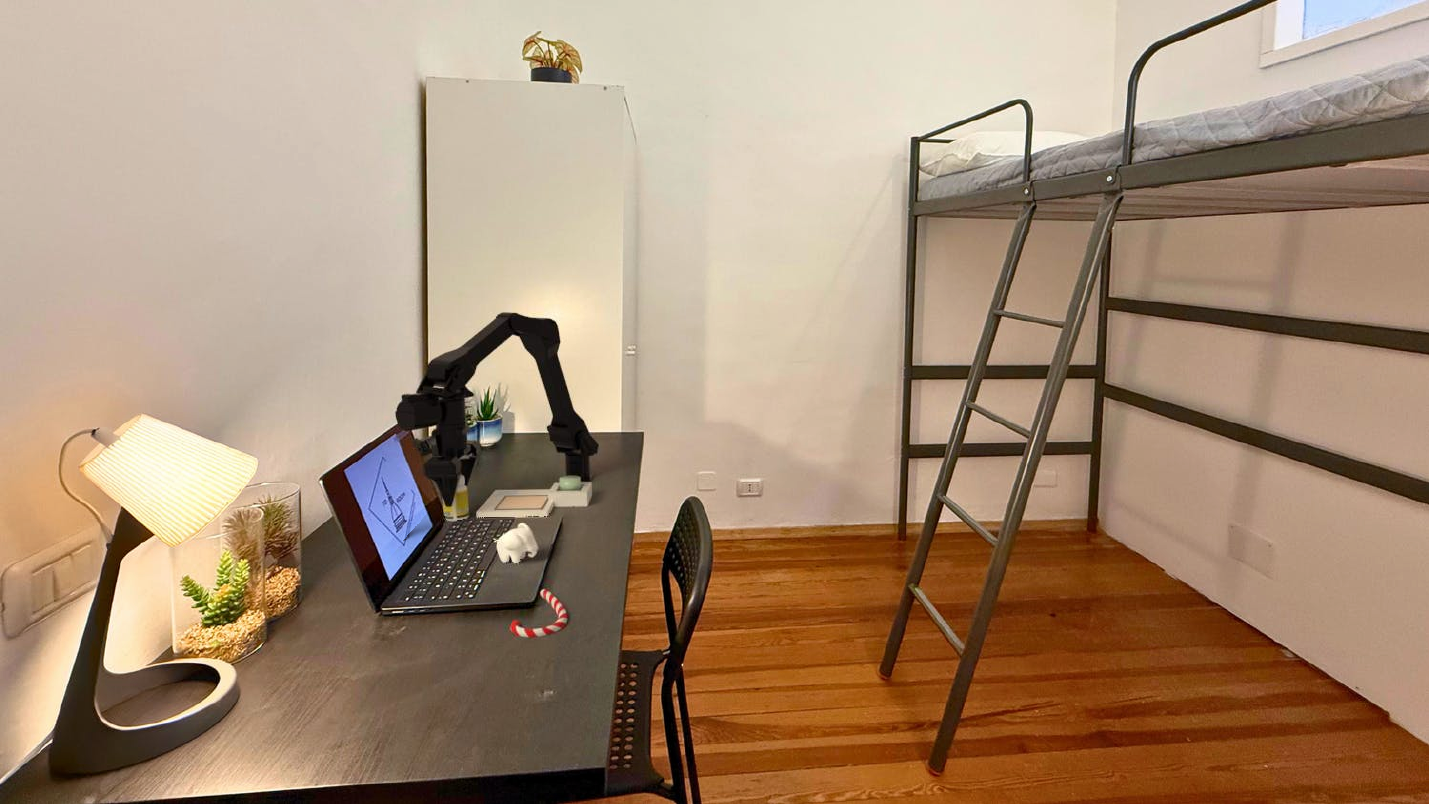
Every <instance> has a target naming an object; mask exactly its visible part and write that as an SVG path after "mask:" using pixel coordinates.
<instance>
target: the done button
mask: <svg viewBox="0 0 1429 804" xmlns="http://www.w3.org/2000/svg"><path fill="white" fill-rule="evenodd" d="M559 483H560V491H579V490H581V478H580V477H579V476H565V475H564V476H561V477H560V478H559Z"/></svg>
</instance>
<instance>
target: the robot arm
mask: <svg viewBox="0 0 1429 804" xmlns="http://www.w3.org/2000/svg"><path fill="white" fill-rule="evenodd" d="M559 329H560V328H559V325H558V323H557V321H556V320H553V319H552V318H549V317H531V316H526V315H524V314H523V315H522V314H520V313H518V312H510V311H509V312H508V311H505V312H504V311H503V312H501V313H498V314H497V315H496V317H495V318H494V319H493V320H492V321H490V322H489V323H488V324H487V325H486V326H485V327H483V328H481V330H480V331H478V332H477V333H476V334H474V335H473V336H472V337H471V338H470V339H468V340H467V341H466V342H464V343H463V345H461V346H460V347H458V348H455V349H452V350H450V351H449V350H448V351H447V352H444V353H442V354H440V355H439V356H436V357H434V358H432V359H431V360H430V361H429V362H428V364H427V366H426V367H427V369H426V372H425V374H424V376H423V378H422V380H421V382H420V384H419V385H418V387H417V389H416V391H415V393H404V394H401V401H399V403H398V404H397V407H396V411H395V413H394V415H395V419H396V423H397V425H398V427H400V429H401V430H403V431H405V432H412V431H415V430H416V431H417V430H421V429H422V430H423V429H425V428H431V427H435V428H434V429H433V430H432V431H431V435H429V436H426V437H424V438H421V439H419V438H417V437H416V438H414V439H412V440H411V442H412V444H413V445H414V447H415V448H416V451H417V452H418V450H417V448H418V449H419V452H420V455H421V456H422V457H421V458H424V457H427V456H429V455H431V458H429V459H427V461H425V463H423V464H422V476H424V477H426V478H427V479H429V480H432V481H433V482H435V483H436V486H437V488H438V489H439V492H440V495H441V498H442V502H443V501H444V503H445V506H446V507H451V506H452V504H453V501H454V498H455V494H456V491H457V487H458V484H459V480H460V477H461V475H463V476H464V479H465V484H464V485H466V487H467V488H468V486H469V483H470V480H471V478H472V475H473V473H474V470H475V467H476V465H477V462H478V460H479V458H480V454H481V453H482V452H481V451H482V450H481V444H480V443H479V441H478V440H473V439H469V440H468V432H469V431H470V429H471V428H470V424H467V415H466V414H467V413H466V411H467V410H466V399H468V398H472V397H475V393H474V392H473V391H471V390H470V389H469V388H468V387H467V386H466V385H467V384H468V383H469V382H470V381H471V379H472V378H473V377H474V376H475V374H476V371H477V367H478V365H480V363H481V362H483V360H485V359H486V358H487V357H489V356H490V355H491V354H492V353H493V352H494V351H496V350H497V349H498V348H499V347H500V346H502V345H503V344H504V343H505V342H506V341H508V339H510V338H511V337H512V336H516V337H519V340H520V341H521V343H522V345H523V347H524V349H525V350H526V352H528V353H529V354H530V356H531V357H533V359H534V360H535V363H536V367H537V369H538V372H539V375H540V379H541V382H542V386H543V388H544V392H545V396H546V398H547V401H548V404H549V408H550V411H551V414H552V419H551V421H550V424H548V425H546V431H547V433H548V435H549V442H552V444H553V445H554V446H555V450H556V453H557V454H564V468H565V471H564V472H565V473H564V476H579V477H580V478H581V482H592V481H591V480H592V479H593V476H594V472H591V457H593V456H595V455H596V454H598V451H599V446H600V445H599V443H598V442H597V441H596V440H595V438H594V437H593V436H591V434H590V431H589V429H588V427H587V424H586V422H585V420H584V419H583V418H582V417H581V416H580V415H579V414H578V413H577V412H576V411H575V409H574V406H573V402H572V398H571V395H570V392H569V389H568V385H567V382H566V379H565V374H564V371H563V368H562V365H561V364H562V363H561V362H560V359H559V354H558V352H559V349H560V345H561V342H562V341H561V336H560V330H559ZM418 454H419V453H418Z"/></svg>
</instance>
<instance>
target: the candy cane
mask: <svg viewBox="0 0 1429 804" xmlns="http://www.w3.org/2000/svg"><path fill="white" fill-rule="evenodd" d="M539 596H540V597H542V598H543V599H544V600H545V601H546V602H547V603H548V604H550V606H551V607H552V608H553V610H554V611H555V613H556V614H557V617H558V618H557V620H556V621H555V622H554V623H552V624H551V625H547V626H544V627H540V628H539V627H538V628H525V627H521V626H520V625H521V622H520V620H519V619H515V620H513V621H512V622H511V625H510V631H511V633H513V634H514V635H516V636H519V637H523V638H539V637H544V636H548V635H552V634H553V633H556V632H558V631H560V630H561V629H563V628H564V627H565V625H566V624H567V621H568V613H567V610H566V608H565V607H564V605H563V604H562V603H561V602H560V600H559V599H558V598H557V597H556V596H555V595H554V594H553V593H551V592H550V591H549V590H547V589H546V588H543V589H541V591H540V595H539Z"/></svg>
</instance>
